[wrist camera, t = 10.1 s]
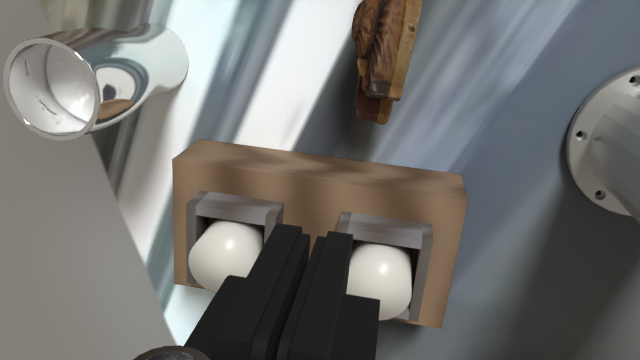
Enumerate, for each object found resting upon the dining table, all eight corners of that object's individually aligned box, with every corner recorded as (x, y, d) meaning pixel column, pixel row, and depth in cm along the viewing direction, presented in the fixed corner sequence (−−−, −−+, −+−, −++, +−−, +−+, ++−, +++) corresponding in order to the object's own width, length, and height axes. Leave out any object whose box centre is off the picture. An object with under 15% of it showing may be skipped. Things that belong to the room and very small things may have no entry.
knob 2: (415, 235, 42) (416, 267, 37) (406, 289, 44) (406, 325, 39) (353, 226, 43) (346, 256, 38) (347, 279, 44) (339, 314, 40)
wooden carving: (371, -106, 40) (359, -133, 30) (432, -104, 39) (440, -130, 30) (353, 107, 46) (339, 140, 36) (406, 112, 45) (405, 146, 36)
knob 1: (269, 214, 43) (253, 241, 39) (266, 266, 45) (250, 298, 41) (211, 205, 44) (188, 231, 39) (210, 257, 46) (188, 288, 41)
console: (460, 174, 46) (472, 216, 38) (437, 290, 51) (443, 351, 42) (199, 139, 49) (156, 171, 41) (198, 252, 53) (159, 302, 45)
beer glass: (172, 111, 48) (77, 164, 35) (107, 68, 48) (-15, 104, 34) (207, 47, 46) (119, 76, 32) (138, 1, 45) (19, 10, 31)
